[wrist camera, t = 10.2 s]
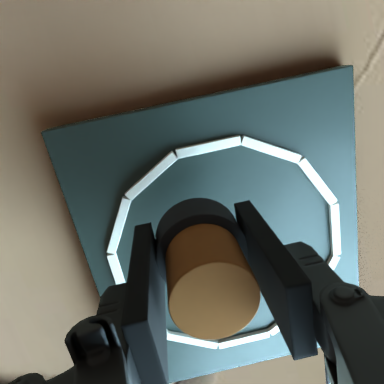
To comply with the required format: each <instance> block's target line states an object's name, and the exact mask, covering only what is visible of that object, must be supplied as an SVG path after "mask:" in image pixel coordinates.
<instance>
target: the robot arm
mask: <svg viewBox="0 0 384 384" xmlns="http://www.w3.org/2000/svg"><path fill="white" fill-rule="evenodd" d="M234 208H235V214H236V220H237V223H238V224H239V226H240V228H241V230H242V231H243V233H244V235H245V237H246V240H247V246H248V253H249V257H248V264H249V266H250V268H251V270H252V272H253V274H254V276H255V278H256V280H257V282H258V284H259V287H260V291H261V293H262V295H263V297H264V300H265V302H266V304H267V306H268V308H269V310H270V312H271V314H272V316H273V318H274V320H275V322H276V324H277V326H278V328H279V330H280V332H281V334H282V337H283V339H284V341H285V343H286V345H287V347H288V349H289V351H290V353H291V355H292V357H293V359H294V360H298V359H302V358H306V357H310V356H315V355H318V351H317V342H318V344H319V346H320V347H321V349H322V351H323V352H324V359H325V372H326V384H330V383H331V384H384V296H371V295H368V294H367V293H366V292H365V291H364V289H362V288H360V287H358V286H356V285H354V284H350V283H346V282H344V281H343V280H342V279H341V278H340V277H339V276H338V275H337V274H336V273H335V271H334V270H333V269H332V268H331V267H330V266H329V265H328V264H327V263H326V262H324V259H323V258H322V257H321V256H320V255H318V253H317V252H316V251H315V250H314V249H313V247H312V246H310V245H307V244H305V243H303V242H301V241H299V242H295V243H291V244H286V245H283V243H282V242H281V241H280V239H279V238H278V237H277V236H276V234H275V233H274V232H273V230H272V229H271V228H270V226H269V225H268V224H267V222H266V221H265V220H264V218H263V217H262V216H261V214H260V213H259V212H258V210H257V209H256V208H255V207H254V205H253V204H252V203H251V201H250V200H247V201H243V202H238V203H234ZM65 344H66V346H67V348H68V351H69V353H70V355H71V358H72V360H73V363H74V366H73V367H72V368H70V369H69V370H67V371H65V372H64V373H62V374H60V375H58V376H56V377H54V378H52V379H50V380H48V381H46V382H45V380H44V378H43V376H42V375H40V374H38V373H29V374H26V375H23V376H20V377H18V378H16V379H15V380H13V381H12V382H10V383H9V384H169V378H168V354H167V330H166V306H165V282H164V280H163V279H162V278H161V276H160V274H159V270H158V266H157V263H156V239H155V236H154V232H153V228H152V224H151V222H150V223H145V224H141V225H136V226H135V228H134V235H133V243H132V250H131V257H130V264H129V271H128V278H127V282H125V283H121V284H117V285H112V286H108V288H107V289H106V290H105V292H104V293H103V294H102V295H101V298H100V302H99V308H98V310H97V315H95V316H91V317H88V318H86V319H84V320H82V321H80V322H79V323H77V324H76V325H75V326H73V327H72V328H71V330H70V331H69V332H68V333H67V335H66V338H65Z"/></svg>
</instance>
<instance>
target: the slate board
mask: <svg viewBox="0 0 384 384" xmlns="http://www.w3.org/2000/svg"><path fill="white" fill-rule="evenodd" d="M41 134H42V136H43V139H44V142H45V145H46V148H47V150H48V153H49V156H50V159H51V162H52V164H53V167H54V170H55V173H56V176H57V178H58V181H59V184H60V187H61V190H62V192H63V195H64V198H65V201H66V203H67V206H68V209H69V212H70V215H71V217H72V220H73V223H74V226H75V229H76V231H77V234H78V237H79V240H80V243H81V245H82V248H83V251H84V254H85V257H86V259H87V262H88V265H89V268H90V270H91V273H92V276H93V279H94V282H95V284H96V287H97V290H98V293H99V296H100V298H101V295H102V294H103V293H104V292H105V290H106V289H107V288H108V286H112V285H117V284H121V283H125V282H127V278H128V271H129V264H130V257H131V250H132V243H133V235H134V228H135V226H136V225H141V224H145V223H150V222H151V224H152V228H153V232H154V236H155V239H156V230H157V226H158V224H159V221H160V220H161V218H162V216H163V215H164V214H165V213H166V212H167V211H168V210H169V209H170V208H171V207H172V206H174V205H175V204H177V203H179V202H181V201H183V200H187V199H191V198H208V199H212V200H215V201H217V202H219V203H221V204H223V205H224V206H226V207H227V208H228V209H229V210H230V212H231V213H232V214H233V216H234V217H235V219H236V214H235V208H234V203H238V202H243V201H247V200H250V201H251V203H252V204H253V205H254V207H255V208H256V209H257V210H258V212H259V213H260V214H261V216H262V217H263V218H264V220H265V221H266V222H267V224H268V225H269V226H270V228H271V229H272V230H273V232H274V233H275V234H276V236H277V237H278V238H279V239H280V241H281V242H282V243H283V245H286V244H291V243H295V242H299V241H301V242H303V243H305V244H307V245H310V246H312V247H313V249H314V250H315V251H316V252H317V253H318V255H320V256H321V257H322V258H323V259H324V262H326V263H327V264H328V265H329V266H330V267H331V268H332V269H333V270H334V271H335V273H336V274H337V275H338V276H339V277H340V278H341V279H342V280H343V281H344V282H346V283H350V284H354V285H356V286H358V287H359V275H358V237H357V199H356V161H355V122H354V84H353V65H343V66H338V67H333V68H329V69H324V70H319V71H315V72H310V73H305V74H301V75H296V76H291V77H287V78H282V79H277V80H273V81H268V82H263V83H259V84H254V85H249V86H245V87H240V88H235V89H231V90H226V91H221V92H217V93H212V94H207V95H203V96H198V97H193V98H189V99H184V100H179V101H175V102H170V103H165V104H161V105H156V106H151V107H147V108H142V109H137V110H132V111H128V112H123V113H118V114H114V115H109V116H104V117H100V118H95V119H90V120H86V121H81V122H76V123H72V124H67V125H62V126H58V127H53V128H48V129H46V130H44V131H42V132H41ZM236 221H237V220H236ZM260 293H261V291H260ZM165 306H166V330H167V354H168V378H169V383H173V382H177V381H181V380H186V379H190V378H194V377H198V376H202V375H207V374H211V373H215V372H219V371H223V370H228V369H232V368H236V367H240V366H244V365H249V364H253V363H257V362H261V361H265V360H270V359H274V358H278V357H282V356H286V355H291V353H290V351H289V349H288V347H287V345H286V343H285V341H284V339H283V337H282V334H281V332H280V330H279V328H278V326H277V324H276V322H275V320H274V318H273V316H272V314H271V312H270V310H269V308H268V306H267V304H266V302H265V300H264V297H263V295H262V293H261V299H260V305H259V308H258V311H257V313H256V315H255V316H254V318H253V319H252V321H251V322H250V323H249V324H248V325H247V326H246V327H245V328H243V329H242V330H240V331H239V332H237V333H235V334H233V335H231V336H229V337H225V338H221V339H215V340H205V339H198V338H195V337H192V336H189V335H188V334H186V333H184V332H183V331H181V330H180V329H179V328H178V327H177V326H176V325H175V323H174V322H173V320H172V319H171V317H170V314H169V310H168V298H167V284H166V283H165ZM317 348H320V346H319V344H318V342H317Z"/></svg>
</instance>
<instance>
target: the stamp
mask: <svg viewBox="0 0 384 384" xmlns="http://www.w3.org/2000/svg"><path fill="white" fill-rule="evenodd" d="M248 257H249V253H248V246H247V240H246V237H245V235H244V233H243V231H242V230H241V228H240V226H239V224H238V223H237V221H236V219H235V217H234V216H233V214H232V213H231V212H230V210H229V209H228V208H227V207H226V206H224V205H223V204H221V203H219V202H217V201H215V200H212V199H208V198H191V199H187V200H183V201H181V202H179V203H177V204H175V205H174V206H172V207H171V208H170V209H169V210H168V211H167V212H166V213H165V214H164V215H163V216H162V218H161V220H160V221H159V224H158V226H157V230H156V263H157V266H158V270H159V274H160V276H161V278H162V279H163V280H164V282H165V283H166V284H167V298H168V310H169V314H170V317H171V319H172V320H173V322H174V323H175V325H176V326H177V327H178V328H179V329H180V330H181V331H183V332H184V333H186V334H188V335H189V336H192V337H195V338H198V339H205V340H215V339H221V338H225V337H229V336H231V335H233V334H235V333H237V332H239V331H240V330H242V329H243V328H245V327H246V326H247V325H248V324H249V323H250V322H251V321H252V319H253V318H254V316H255V315H256V313H257V311H258V308H259V305H260V299H261V293H260V287H259V284H258V282H257V280H256V278H255V276H254V274H253V272H252V270H251V268H250V266H249V264H248Z"/></svg>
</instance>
